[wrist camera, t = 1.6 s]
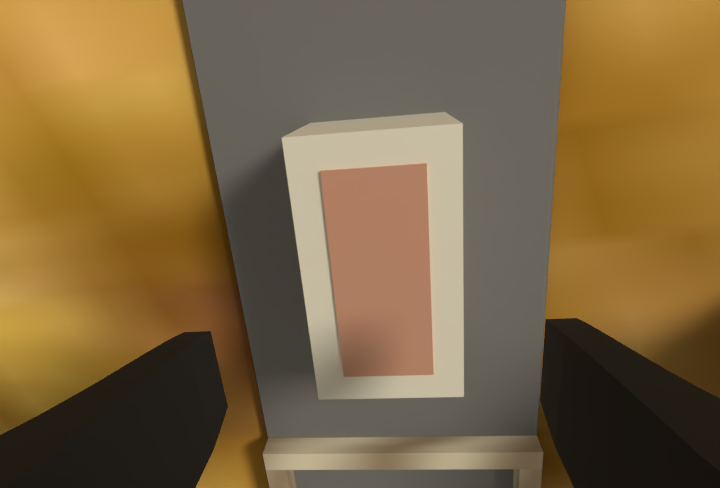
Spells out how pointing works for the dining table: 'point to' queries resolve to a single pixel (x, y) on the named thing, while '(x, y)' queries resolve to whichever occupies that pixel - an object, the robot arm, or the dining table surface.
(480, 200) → the mat
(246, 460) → the dining table surface
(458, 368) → the card box
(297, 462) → the frame
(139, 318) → the dining table surface
